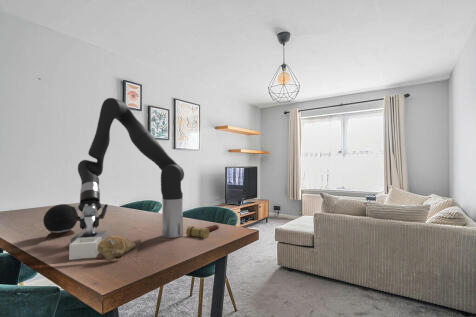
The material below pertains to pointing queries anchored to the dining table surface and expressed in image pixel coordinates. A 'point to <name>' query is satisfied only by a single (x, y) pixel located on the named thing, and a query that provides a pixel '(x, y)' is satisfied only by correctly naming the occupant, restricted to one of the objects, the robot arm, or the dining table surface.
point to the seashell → (114, 246)
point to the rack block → (84, 248)
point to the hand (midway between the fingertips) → (89, 227)
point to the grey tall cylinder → (89, 221)
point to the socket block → (97, 234)
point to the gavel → (200, 231)
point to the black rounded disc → (59, 221)
